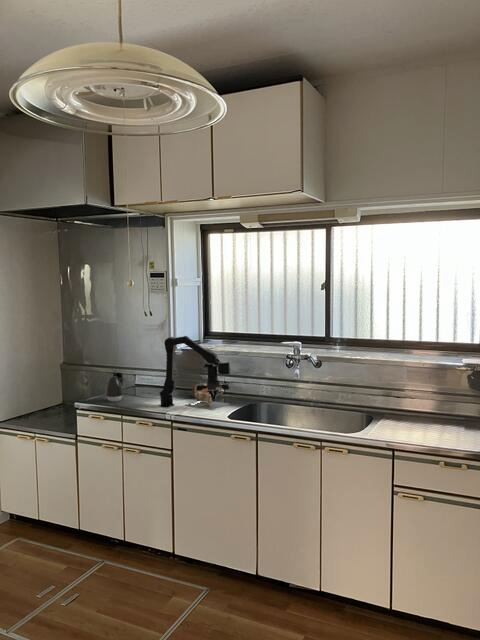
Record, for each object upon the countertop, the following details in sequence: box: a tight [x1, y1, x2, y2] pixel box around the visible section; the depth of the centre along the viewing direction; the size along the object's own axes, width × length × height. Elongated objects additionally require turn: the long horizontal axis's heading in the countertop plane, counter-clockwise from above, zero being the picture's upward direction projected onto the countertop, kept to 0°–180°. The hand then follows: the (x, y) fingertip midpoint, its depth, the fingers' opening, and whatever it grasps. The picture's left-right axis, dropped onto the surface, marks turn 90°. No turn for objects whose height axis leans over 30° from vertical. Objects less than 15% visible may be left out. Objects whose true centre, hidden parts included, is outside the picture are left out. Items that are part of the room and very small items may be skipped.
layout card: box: [186, 400, 230, 411], centre depth 320 cm, size 20×16×1 cm
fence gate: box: [208, 395, 211, 407], centre depth 317 cm, size 11×2×5 cm, turn 1°
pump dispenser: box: [105, 375, 124, 403], centre depth 334 cm, size 10×10×15 cm
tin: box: [191, 382, 209, 399], centre depth 343 cm, size 15×3×8 cm, turn 143°
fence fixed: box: [196, 392, 213, 403], centre depth 327 cm, size 10×2×5 cm, turn 56°
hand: (213, 401), depth 316 cm, fingers closed
